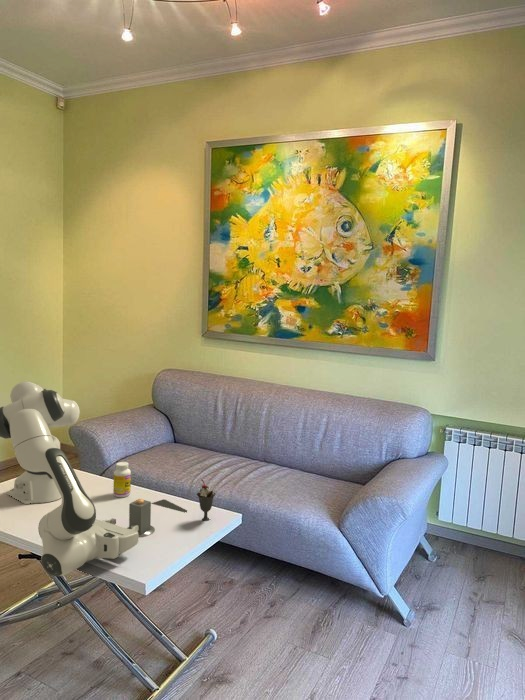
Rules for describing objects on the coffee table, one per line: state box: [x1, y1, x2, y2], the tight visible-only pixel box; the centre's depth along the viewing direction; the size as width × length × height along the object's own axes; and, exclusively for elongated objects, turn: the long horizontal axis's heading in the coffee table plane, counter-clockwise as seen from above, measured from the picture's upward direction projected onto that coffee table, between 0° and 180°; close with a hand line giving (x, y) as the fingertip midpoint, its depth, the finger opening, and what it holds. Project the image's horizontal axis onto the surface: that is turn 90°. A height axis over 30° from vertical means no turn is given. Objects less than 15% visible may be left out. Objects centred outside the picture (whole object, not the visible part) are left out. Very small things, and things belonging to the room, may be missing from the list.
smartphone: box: [151, 499, 188, 514], centre depth 193 cm, size 7×1×15 cm
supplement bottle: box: [112, 461, 132, 498], centre depth 204 cm, size 7×7×13 cm
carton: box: [128, 498, 152, 535], centre depth 172 cm, size 5×5×11 cm
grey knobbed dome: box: [126, 525, 156, 538], centre depth 172 cm, size 10×10×5 cm
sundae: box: [196, 479, 216, 522], centre depth 182 cm, size 7×7×15 cm
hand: (125, 524), depth 165 cm, fingers open, 8 cm apart
